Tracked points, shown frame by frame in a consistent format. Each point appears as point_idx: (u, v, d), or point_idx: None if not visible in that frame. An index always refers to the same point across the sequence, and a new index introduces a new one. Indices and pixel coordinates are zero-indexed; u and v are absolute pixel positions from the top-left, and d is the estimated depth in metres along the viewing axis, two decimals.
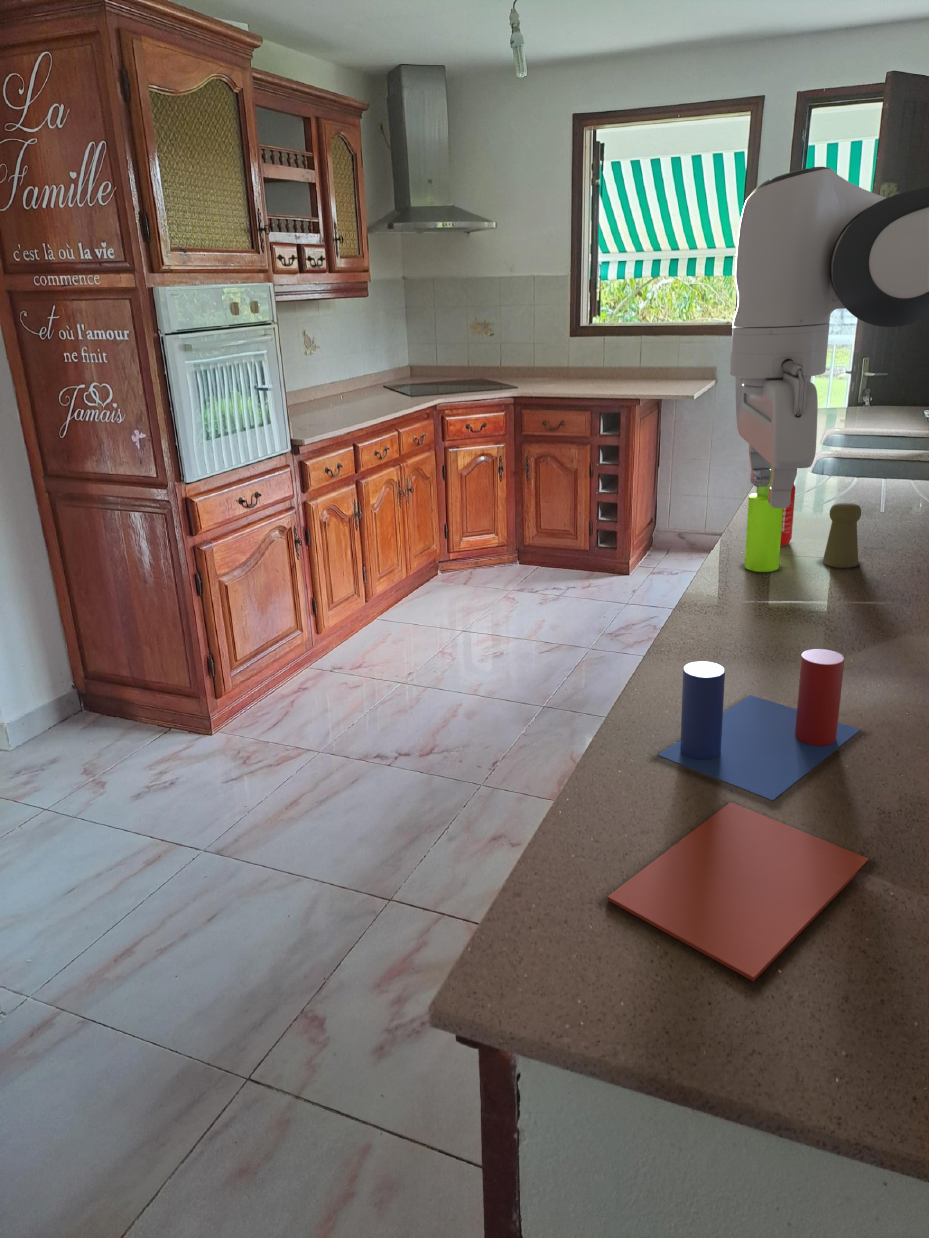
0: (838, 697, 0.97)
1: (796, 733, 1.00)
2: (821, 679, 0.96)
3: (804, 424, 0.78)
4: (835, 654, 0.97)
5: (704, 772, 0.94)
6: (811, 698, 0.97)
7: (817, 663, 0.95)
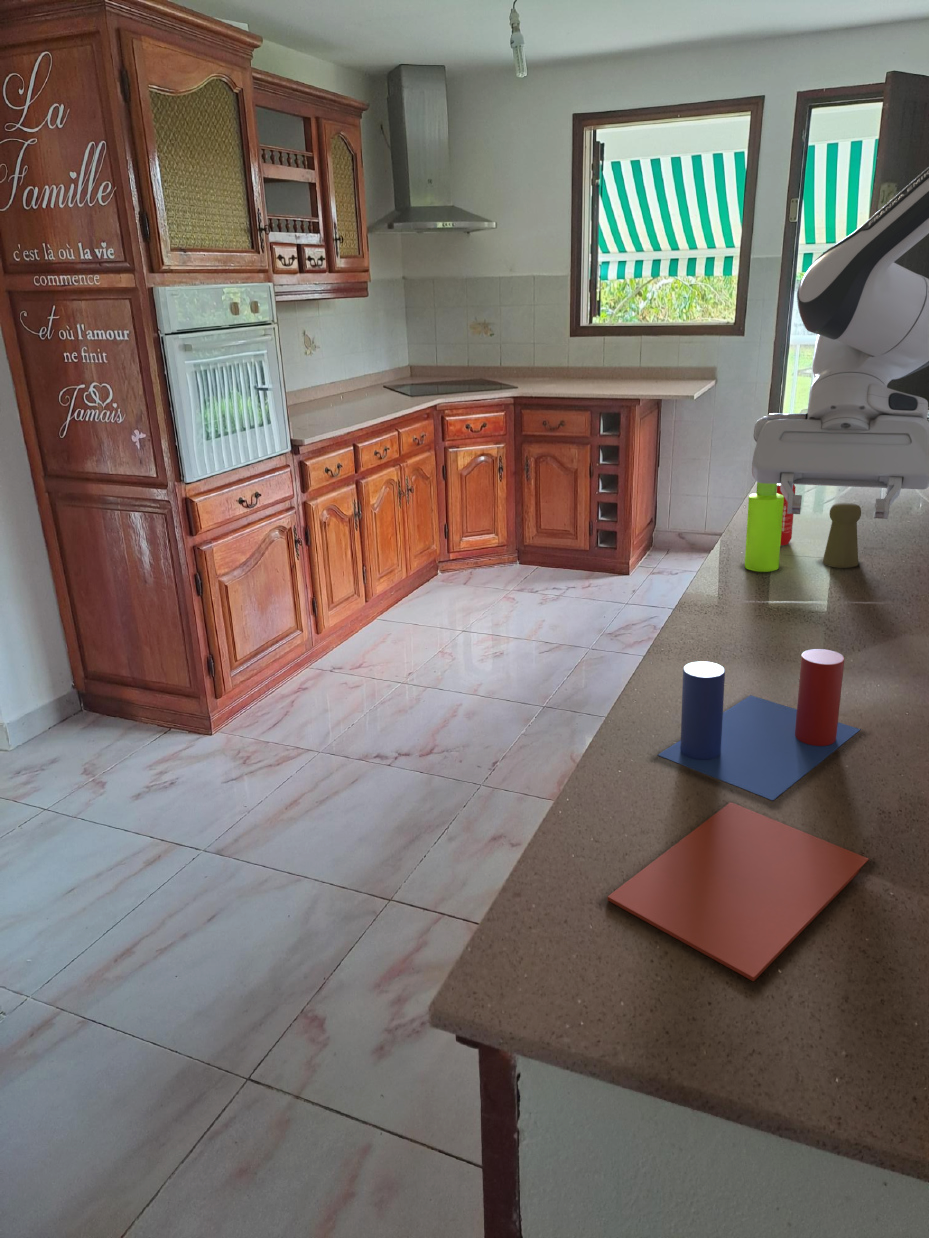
0: (838, 697, 0.97)
1: (796, 733, 1.00)
2: (821, 679, 0.96)
3: None
4: (835, 654, 0.97)
5: (704, 772, 0.94)
6: (811, 698, 0.97)
7: (817, 663, 0.95)
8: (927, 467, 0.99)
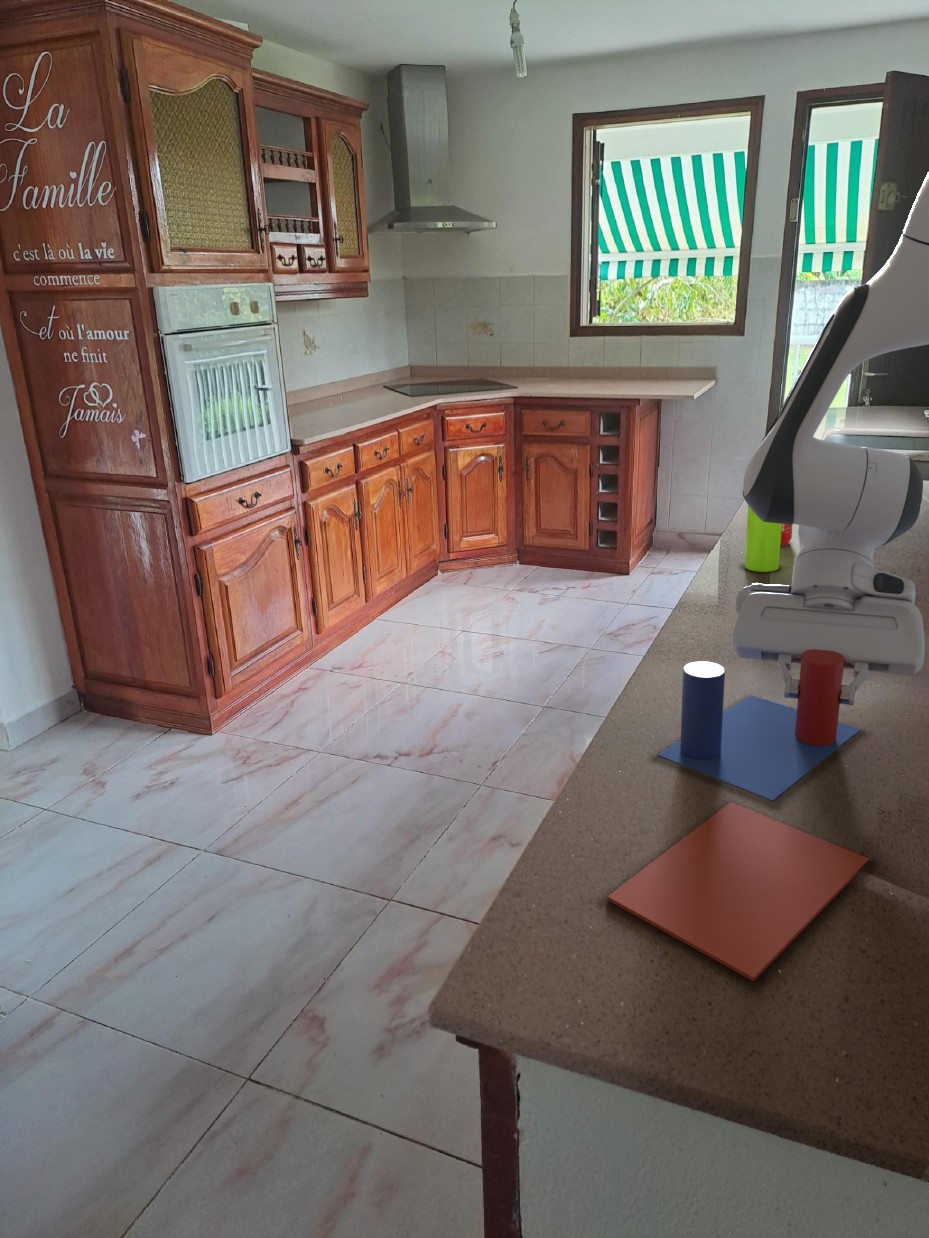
0: (838, 697, 0.97)
1: (796, 733, 1.00)
2: (820, 679, 0.96)
3: None
4: (835, 654, 0.97)
5: (704, 772, 0.94)
6: (811, 698, 0.97)
7: (817, 663, 0.95)
8: (913, 656, 0.95)
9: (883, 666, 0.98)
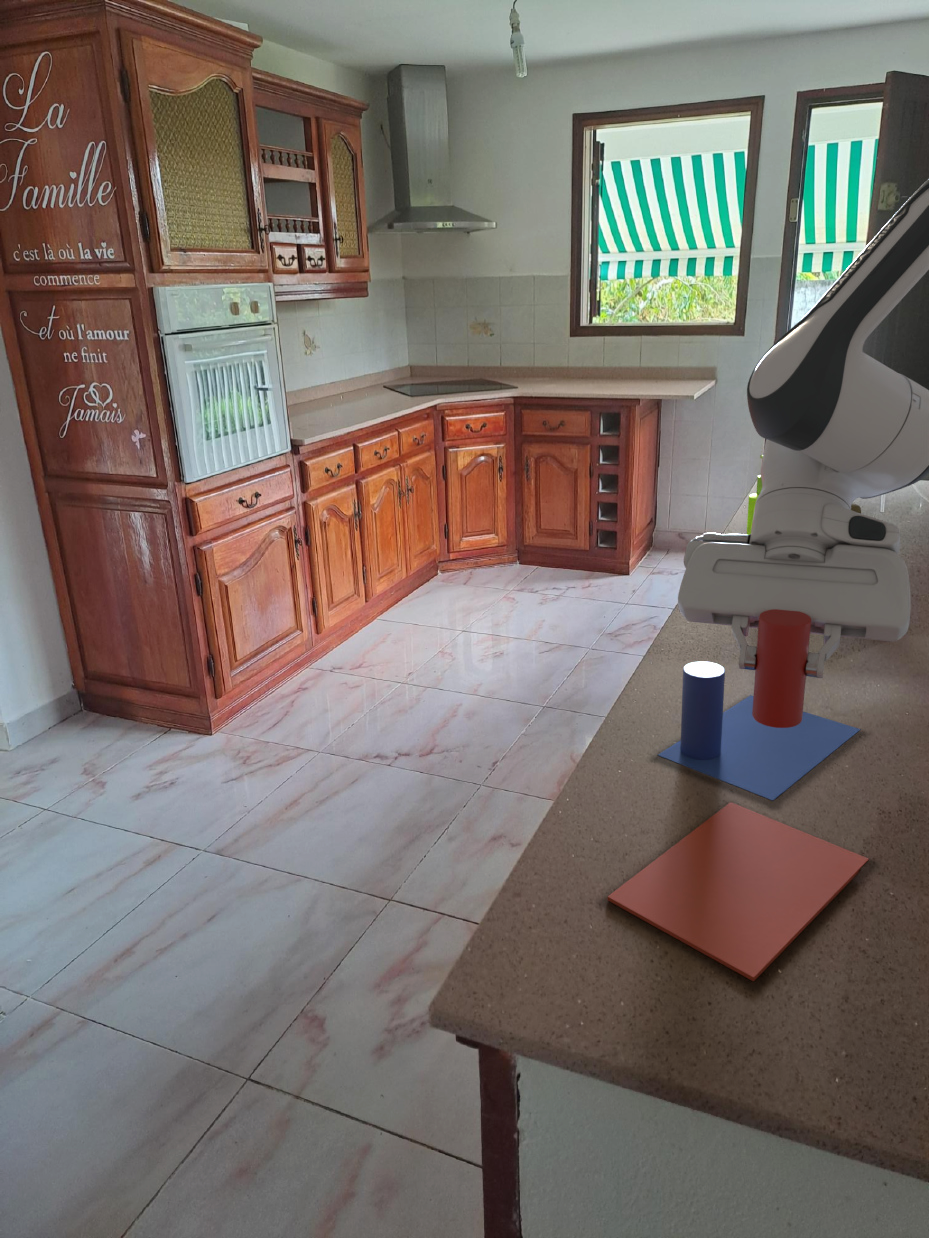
0: (803, 667, 0.78)
1: (753, 712, 0.82)
2: (781, 644, 0.77)
3: None
4: (800, 614, 0.79)
5: (704, 772, 0.94)
6: (770, 668, 0.79)
7: (777, 625, 0.77)
8: (896, 617, 0.76)
9: (860, 631, 0.80)
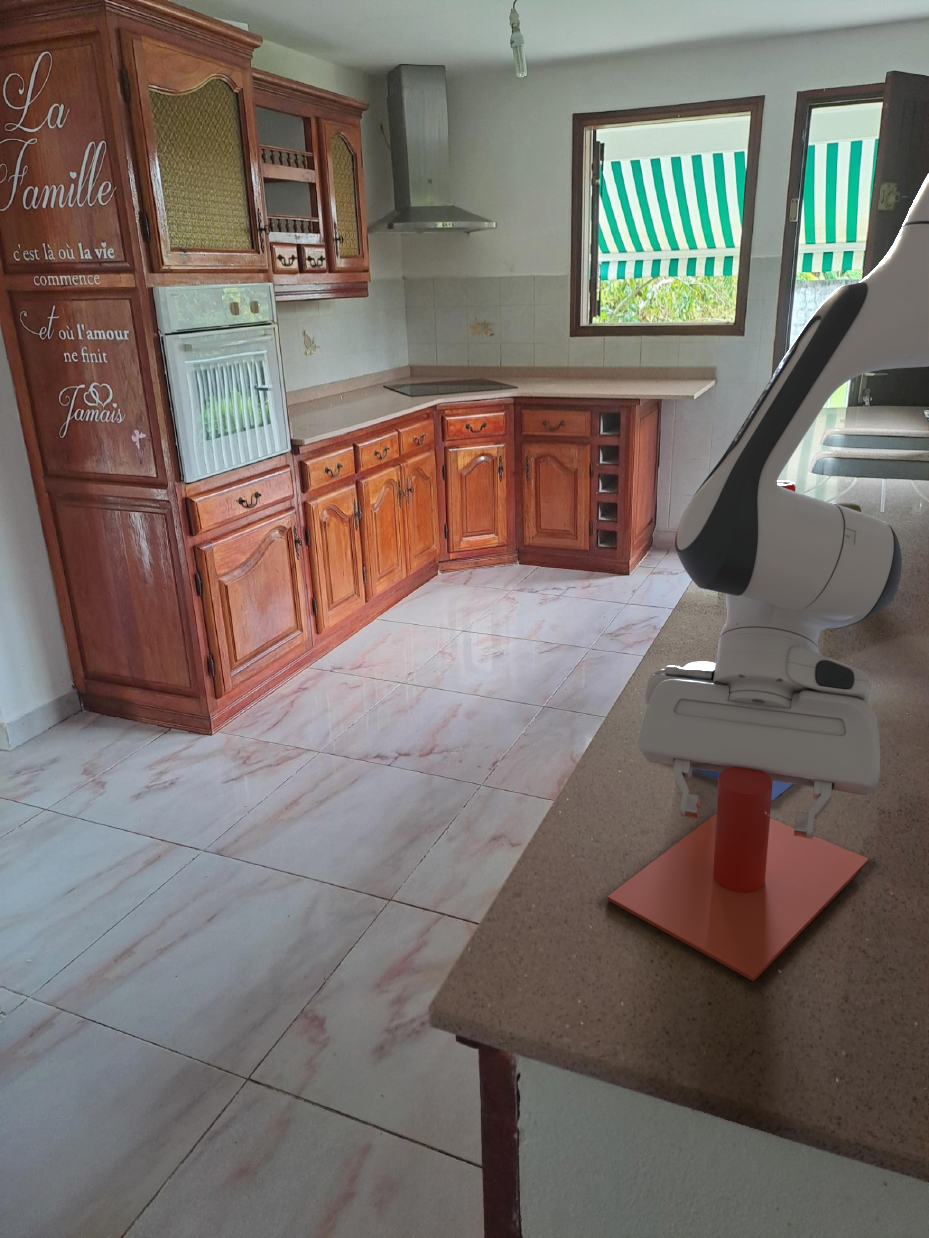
0: (765, 832, 0.74)
1: (714, 872, 0.78)
2: (741, 811, 0.73)
3: None
4: (761, 775, 0.75)
5: (704, 772, 0.94)
6: (729, 833, 0.74)
7: (736, 790, 0.73)
8: (865, 774, 0.72)
9: None
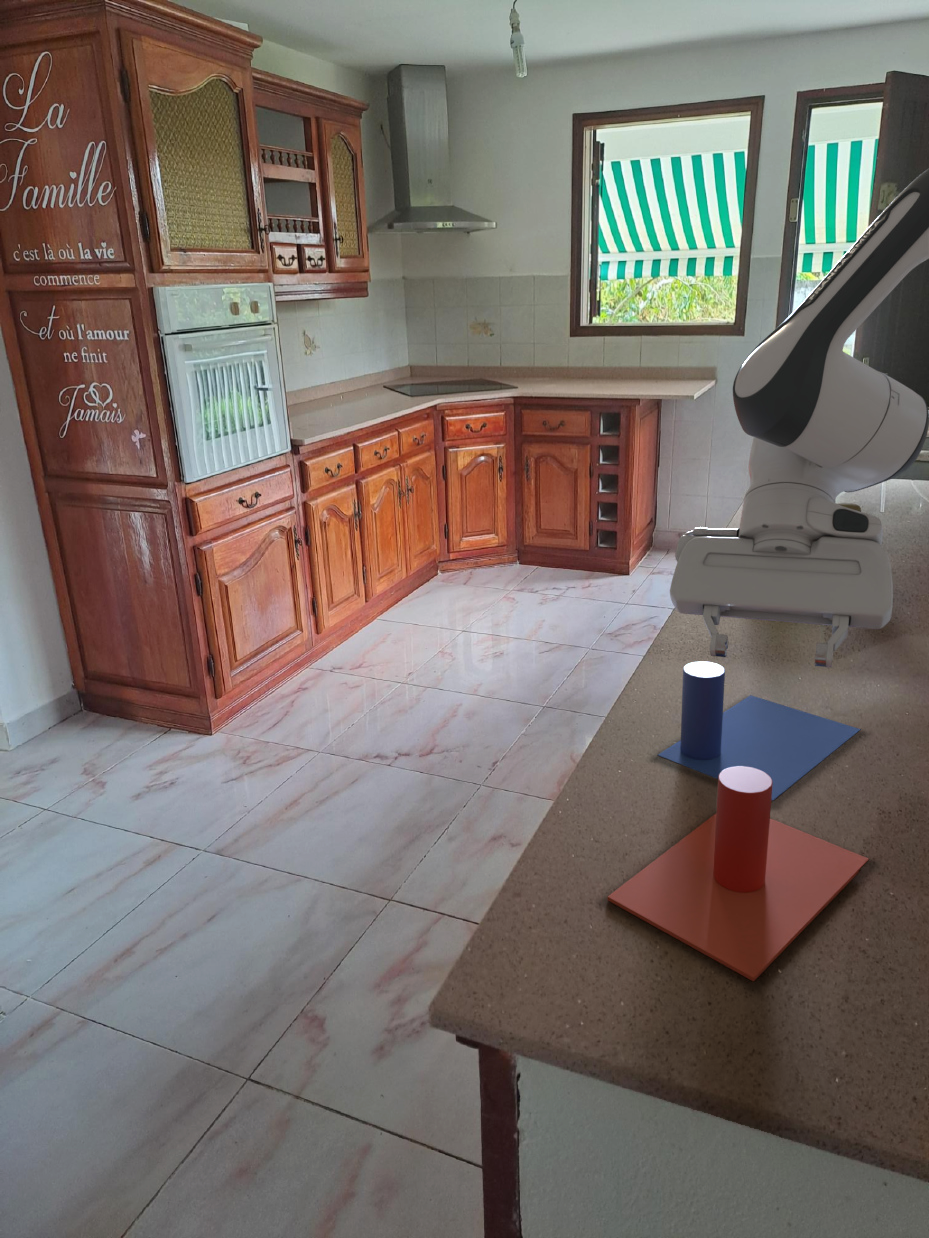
0: (765, 832, 0.74)
1: (714, 872, 0.78)
2: (741, 811, 0.73)
3: None
4: (761, 775, 0.75)
5: (704, 772, 0.94)
6: (729, 833, 0.74)
7: (736, 790, 0.73)
8: (879, 605, 0.80)
9: None
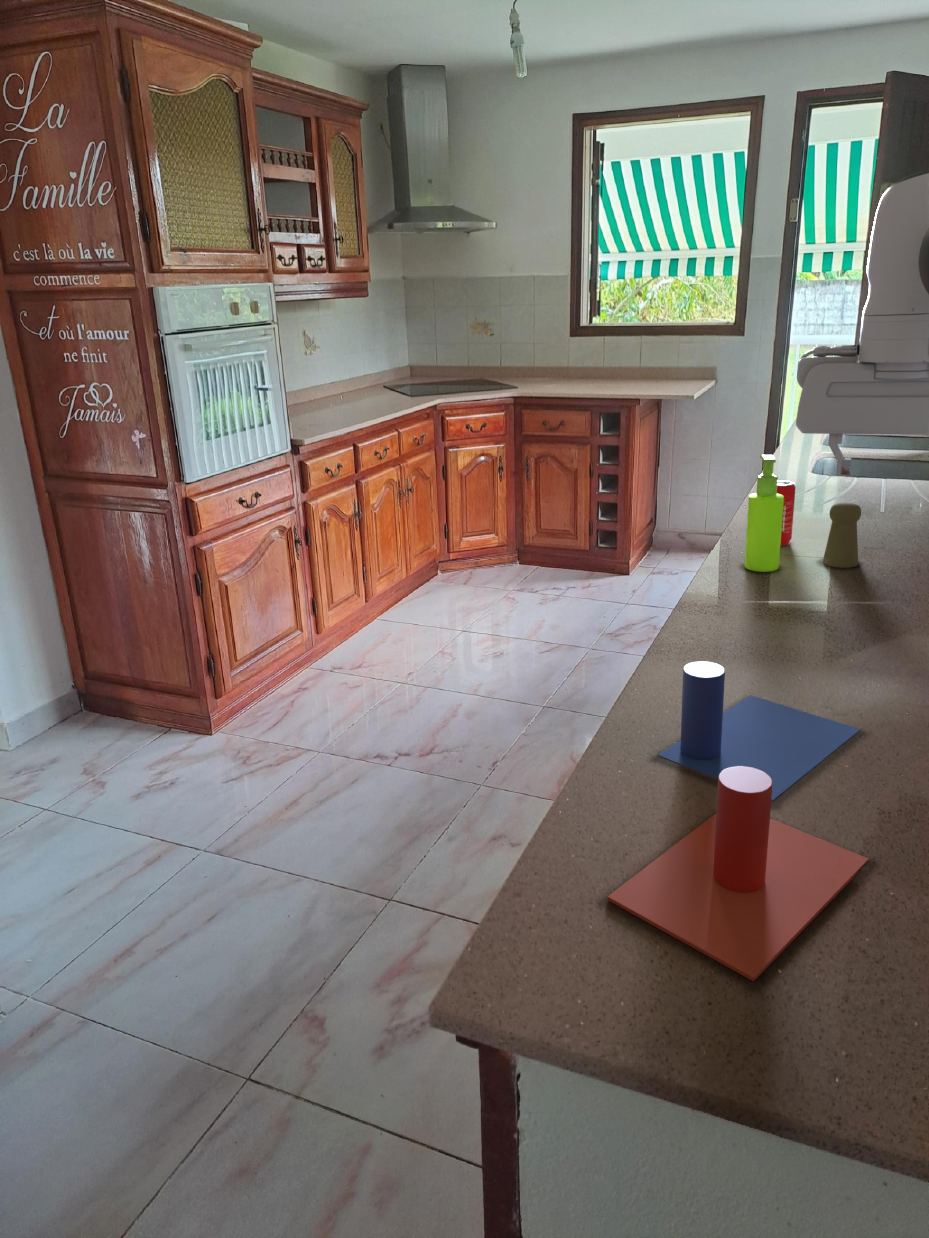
0: (765, 832, 0.74)
1: (714, 872, 0.78)
2: (741, 811, 0.73)
3: None
4: (761, 775, 0.75)
5: (704, 772, 0.94)
6: (729, 833, 0.74)
7: (736, 790, 0.73)
8: None
9: None
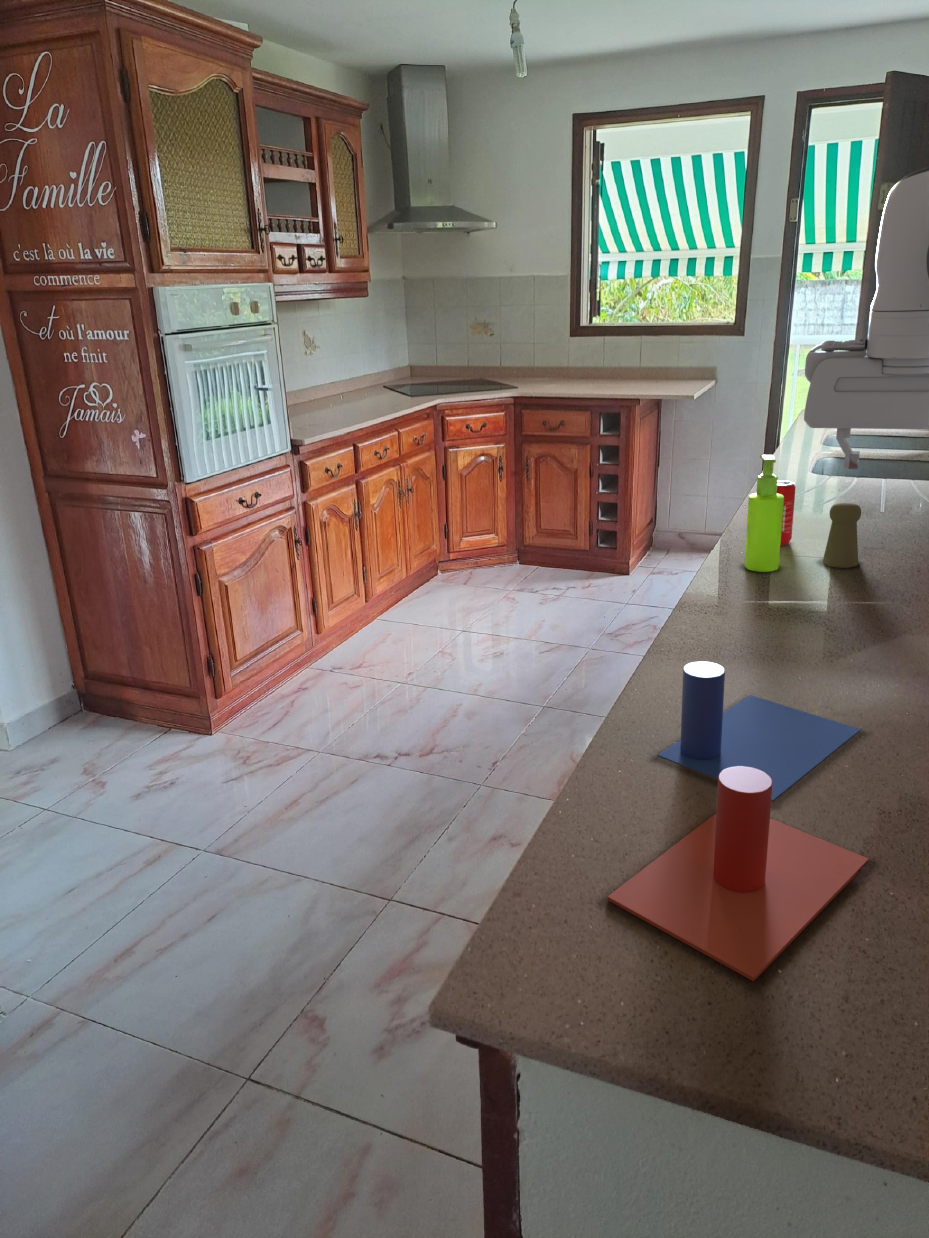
0: (765, 832, 0.74)
1: (714, 872, 0.78)
2: (741, 811, 0.73)
3: None
4: (761, 775, 0.75)
5: (704, 772, 0.94)
6: (729, 833, 0.74)
7: (736, 790, 0.73)
8: None
9: None
